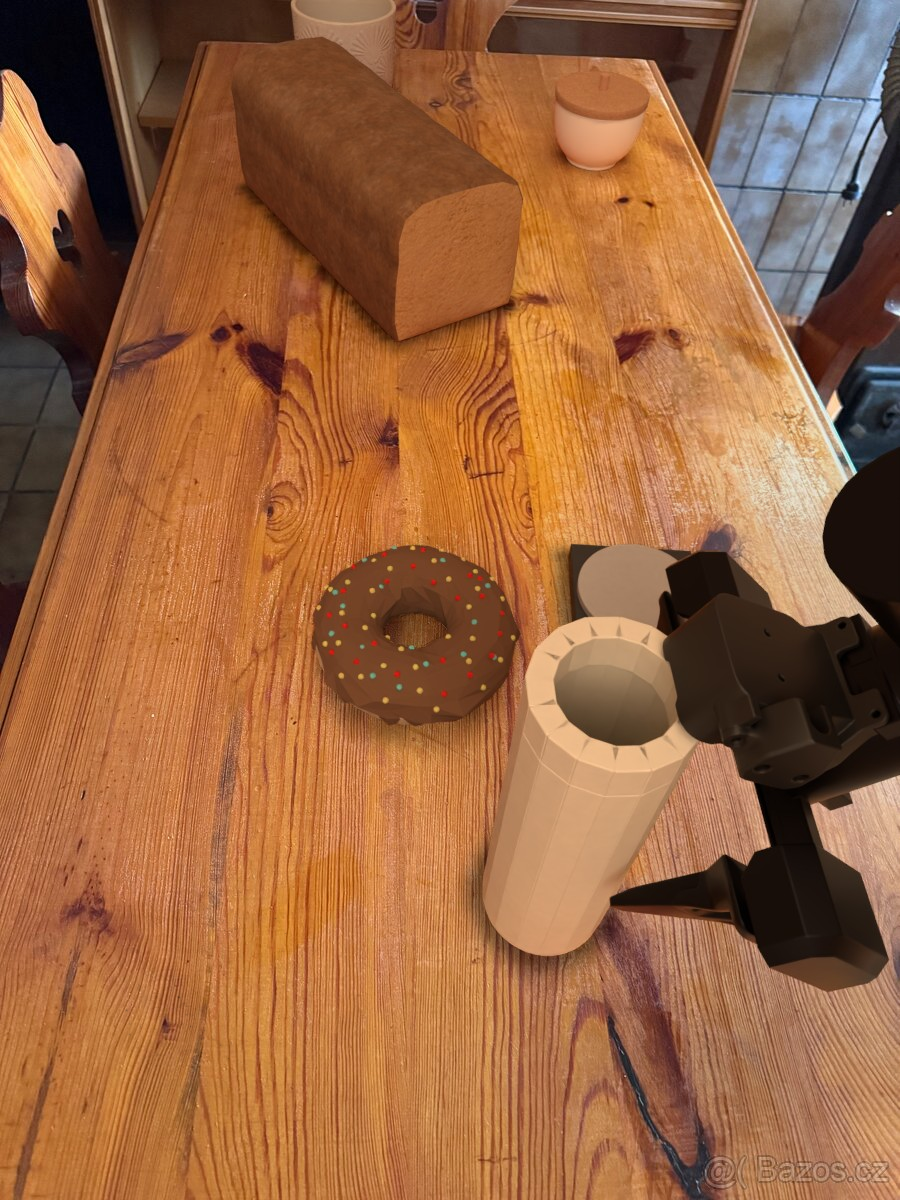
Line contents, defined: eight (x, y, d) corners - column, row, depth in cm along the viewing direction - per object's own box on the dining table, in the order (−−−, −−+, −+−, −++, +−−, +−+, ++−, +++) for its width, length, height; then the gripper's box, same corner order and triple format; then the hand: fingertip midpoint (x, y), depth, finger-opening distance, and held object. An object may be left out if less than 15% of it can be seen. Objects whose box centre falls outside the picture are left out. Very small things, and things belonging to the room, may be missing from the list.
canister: (626, 924, 50) (746, 729, 33) (517, 977, 48) (585, 800, 31) (564, 818, 54) (644, 594, 37) (461, 864, 52) (494, 649, 35)
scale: (702, 664, 62) (711, 646, 60) (573, 657, 62) (578, 639, 60) (685, 564, 67) (693, 545, 66) (567, 557, 67) (572, 538, 66)
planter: (368, 74, 119) (366, -22, 110) (413, 112, 112) (415, 14, 104) (282, 90, 114) (273, -8, 106) (324, 130, 108) (318, 30, 100)
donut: (291, 604, 63) (284, 559, 59) (469, 558, 67) (474, 512, 63) (350, 776, 55) (346, 736, 51) (549, 713, 59) (560, 671, 55)
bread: (393, 350, 82) (393, 201, 71) (239, 186, 99) (219, 44, 88) (517, 308, 87) (535, 162, 76) (350, 158, 104) (344, 21, 93)
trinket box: (566, 130, 111) (578, 47, 104) (647, 152, 109) (665, 68, 101) (532, 165, 105) (543, 80, 98) (617, 189, 103) (634, 103, 95)
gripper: (776, 407, 35) (479, 581, 43) (960, 860, 24) (509, 984, 32) (881, 541, 42) (607, 670, 50) (1063, 945, 31) (670, 1029, 39)
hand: (599, 808), depth 42 cm, fingers open, 9 cm apart
